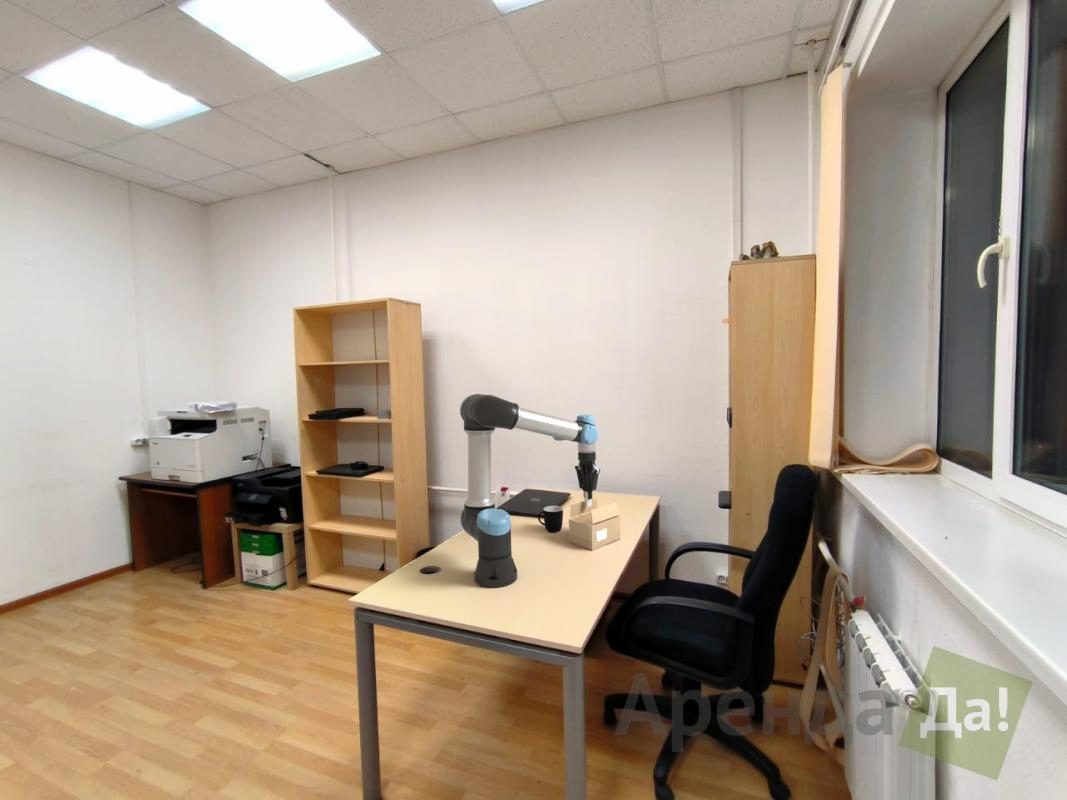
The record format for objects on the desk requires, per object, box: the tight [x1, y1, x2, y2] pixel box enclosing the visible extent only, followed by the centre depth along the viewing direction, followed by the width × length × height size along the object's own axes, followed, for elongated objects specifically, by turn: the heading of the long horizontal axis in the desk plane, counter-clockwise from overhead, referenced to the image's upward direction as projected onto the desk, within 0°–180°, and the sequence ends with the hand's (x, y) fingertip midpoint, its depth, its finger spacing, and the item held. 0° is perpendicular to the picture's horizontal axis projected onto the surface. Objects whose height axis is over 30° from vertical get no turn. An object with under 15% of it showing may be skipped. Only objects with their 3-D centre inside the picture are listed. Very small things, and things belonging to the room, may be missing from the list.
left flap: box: [569, 497, 599, 518], centre depth 200 cm, size 16×6×1 cm
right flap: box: [589, 501, 619, 524], centre depth 192 cm, size 16×6×1 cm
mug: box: [537, 505, 564, 534], centre depth 212 cm, size 12×9×10 cm
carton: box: [568, 512, 621, 552], centre depth 197 cm, size 18×13×10 cm
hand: (588, 505), depth 199 cm, fingers closed
